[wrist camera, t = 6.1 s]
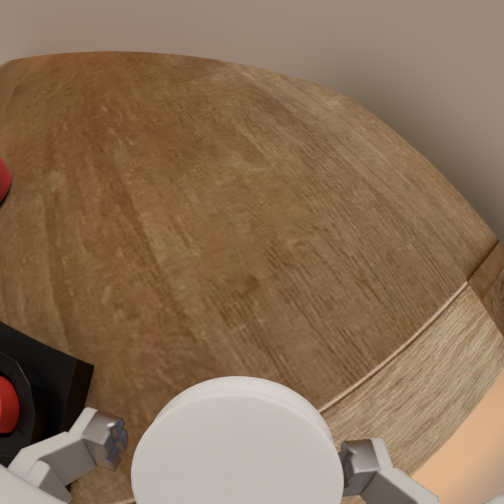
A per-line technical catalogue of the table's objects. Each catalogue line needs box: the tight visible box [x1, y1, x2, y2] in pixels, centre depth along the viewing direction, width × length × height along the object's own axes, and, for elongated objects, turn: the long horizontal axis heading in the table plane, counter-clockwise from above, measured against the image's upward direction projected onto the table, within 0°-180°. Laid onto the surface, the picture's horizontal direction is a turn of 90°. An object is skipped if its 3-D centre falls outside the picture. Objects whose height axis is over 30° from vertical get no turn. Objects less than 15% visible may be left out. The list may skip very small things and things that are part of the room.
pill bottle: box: [131, 376, 344, 504], centre depth 9 cm, size 6×6×11 cm
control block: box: [0, 321, 94, 493], centre depth 12 cm, size 10×8×4 cm
